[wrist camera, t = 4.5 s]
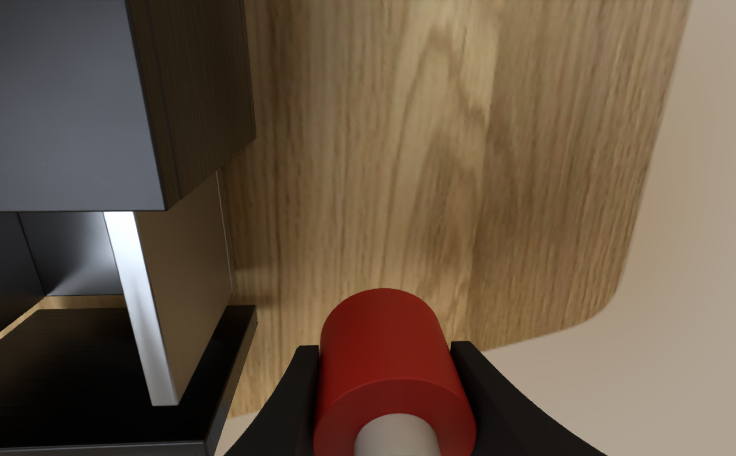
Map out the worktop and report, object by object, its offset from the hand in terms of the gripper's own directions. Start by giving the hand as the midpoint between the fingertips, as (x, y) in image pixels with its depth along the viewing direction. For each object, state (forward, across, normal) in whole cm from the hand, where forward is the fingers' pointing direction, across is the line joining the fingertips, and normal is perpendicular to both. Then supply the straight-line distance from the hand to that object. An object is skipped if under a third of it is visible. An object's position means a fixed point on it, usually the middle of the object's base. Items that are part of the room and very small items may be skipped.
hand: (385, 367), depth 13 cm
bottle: (+1, 0, 0) cm, 1 cm away
